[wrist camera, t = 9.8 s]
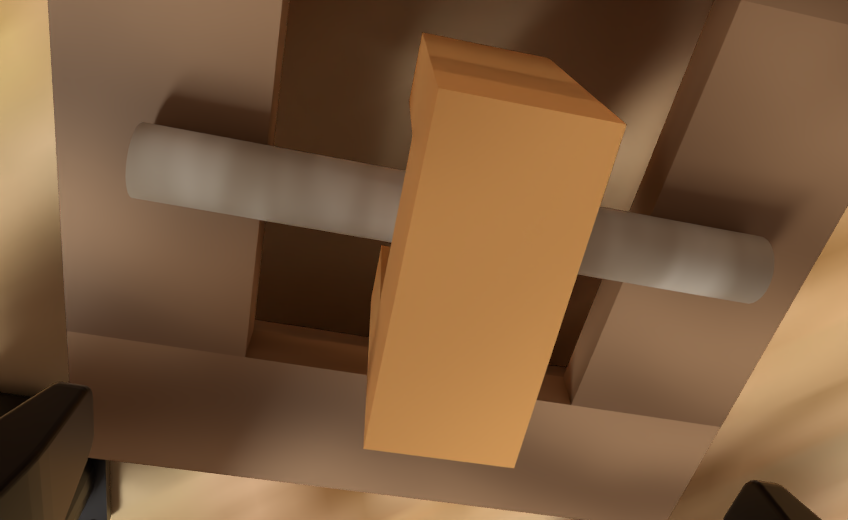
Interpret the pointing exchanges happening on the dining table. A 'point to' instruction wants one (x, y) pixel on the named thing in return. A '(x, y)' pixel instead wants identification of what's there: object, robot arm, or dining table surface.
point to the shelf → (319, 378)
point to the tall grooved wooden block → (482, 249)
